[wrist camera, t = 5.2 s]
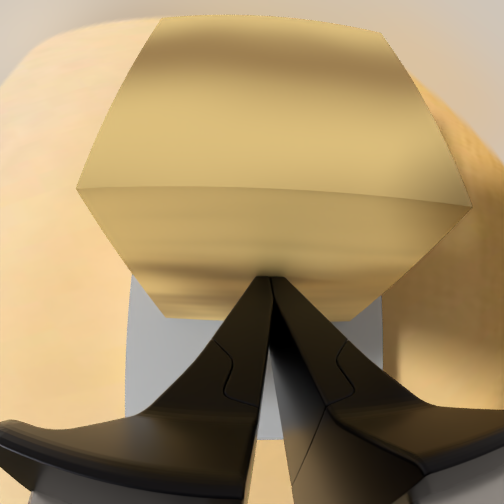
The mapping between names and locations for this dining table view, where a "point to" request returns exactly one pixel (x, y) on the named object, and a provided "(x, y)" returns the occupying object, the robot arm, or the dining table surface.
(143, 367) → the block
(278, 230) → the ochre block
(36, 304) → the dining table surface
